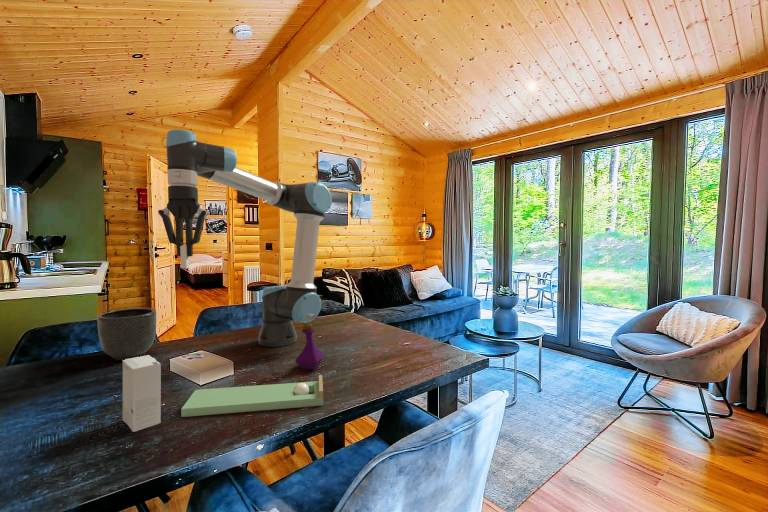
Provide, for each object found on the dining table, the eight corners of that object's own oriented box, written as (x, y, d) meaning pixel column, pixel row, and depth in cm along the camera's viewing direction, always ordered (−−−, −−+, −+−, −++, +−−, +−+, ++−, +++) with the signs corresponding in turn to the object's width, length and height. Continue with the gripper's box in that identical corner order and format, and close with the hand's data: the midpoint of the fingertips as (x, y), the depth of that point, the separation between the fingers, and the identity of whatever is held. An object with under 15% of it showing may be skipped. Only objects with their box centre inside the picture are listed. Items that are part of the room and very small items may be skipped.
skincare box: (122, 421, 87) (119, 359, 86) (150, 411, 91) (148, 353, 90) (133, 433, 81) (130, 368, 80) (163, 423, 86) (161, 361, 85)
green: (195, 397, 100) (195, 383, 99) (322, 387, 106) (322, 374, 106) (181, 417, 89) (180, 401, 88) (323, 405, 95) (323, 391, 95)
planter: (87, 361, 126) (85, 315, 125) (137, 347, 142) (135, 306, 141) (120, 368, 120) (118, 320, 119) (168, 352, 136) (167, 310, 135)
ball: (310, 381, 101) (308, 395, 101) (295, 380, 101) (293, 394, 101) (309, 386, 98) (308, 401, 98) (294, 385, 97) (292, 400, 97)
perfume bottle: (316, 372, 117) (316, 317, 116) (294, 370, 119) (294, 316, 118) (325, 364, 125) (324, 312, 123) (304, 362, 126) (304, 311, 125)
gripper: (152, 183, 100) (155, 269, 102) (203, 185, 103) (205, 268, 104) (163, 187, 108) (166, 266, 109) (210, 188, 110) (212, 266, 112)
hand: (185, 267), depth 107 cm, fingers closed
